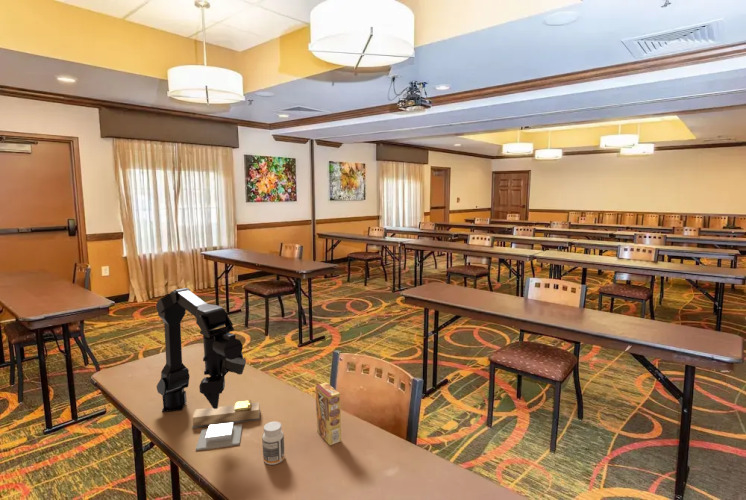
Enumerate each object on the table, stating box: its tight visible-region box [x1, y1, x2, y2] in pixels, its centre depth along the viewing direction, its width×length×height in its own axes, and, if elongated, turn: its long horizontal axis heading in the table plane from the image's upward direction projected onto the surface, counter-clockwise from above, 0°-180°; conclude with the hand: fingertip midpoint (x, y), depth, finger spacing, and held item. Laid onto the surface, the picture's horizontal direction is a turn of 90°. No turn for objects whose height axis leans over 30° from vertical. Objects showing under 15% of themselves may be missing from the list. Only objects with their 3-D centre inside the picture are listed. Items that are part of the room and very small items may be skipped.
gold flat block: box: [234, 399, 252, 411], centre depth 135 cm, size 1×4×5 cm
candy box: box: [315, 382, 342, 446], centre depth 123 cm, size 9×4×15 cm, turn 33°
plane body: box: [192, 401, 261, 429], centre depth 134 cm, size 20×5×4 cm, turn 103°
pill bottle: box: [261, 421, 285, 466], centre depth 114 cm, size 6×6×10 cm
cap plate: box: [206, 422, 234, 444], centre depth 124 cm, size 7×6×2 cm
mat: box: [195, 424, 243, 452], centre depth 124 cm, size 12×10×1 cm
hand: (218, 400), depth 123 cm, fingers open, 9 cm apart
